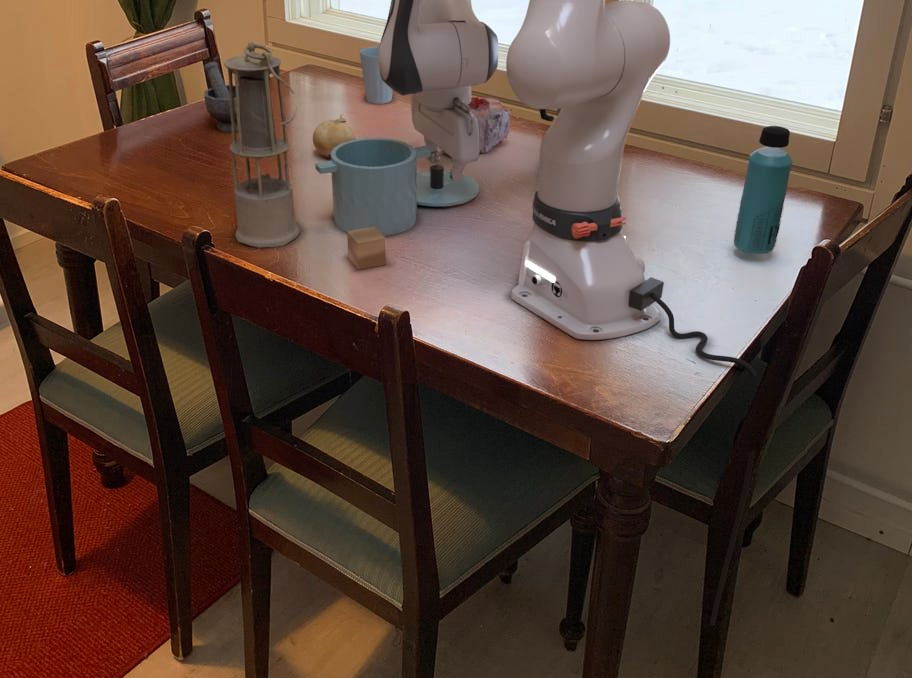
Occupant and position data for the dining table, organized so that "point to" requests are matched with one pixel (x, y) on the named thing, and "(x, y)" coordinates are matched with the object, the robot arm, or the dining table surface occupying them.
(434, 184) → the pot lid
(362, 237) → the block
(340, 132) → the onion
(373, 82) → the cup
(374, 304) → the dining table surface
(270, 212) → the lamp
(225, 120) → the mortar and pestle
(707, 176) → the dining table surface
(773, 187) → the beverage bottle
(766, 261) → the dining table surface
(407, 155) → the pot
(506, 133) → the food item
